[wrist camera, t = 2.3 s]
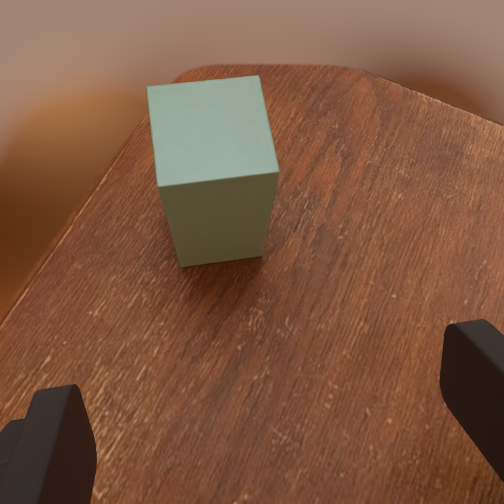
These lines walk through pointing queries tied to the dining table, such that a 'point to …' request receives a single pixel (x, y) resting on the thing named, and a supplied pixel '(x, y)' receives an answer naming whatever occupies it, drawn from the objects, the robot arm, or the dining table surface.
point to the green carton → (214, 167)
